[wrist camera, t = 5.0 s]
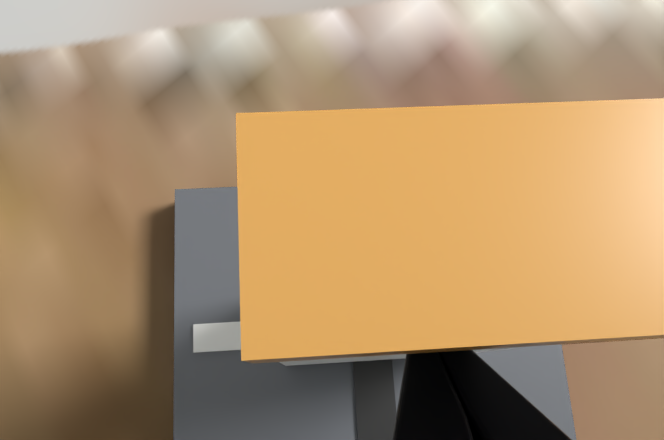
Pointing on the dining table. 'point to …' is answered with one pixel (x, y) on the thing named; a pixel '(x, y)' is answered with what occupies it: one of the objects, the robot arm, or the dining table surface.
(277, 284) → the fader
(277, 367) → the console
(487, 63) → the dining table surface
